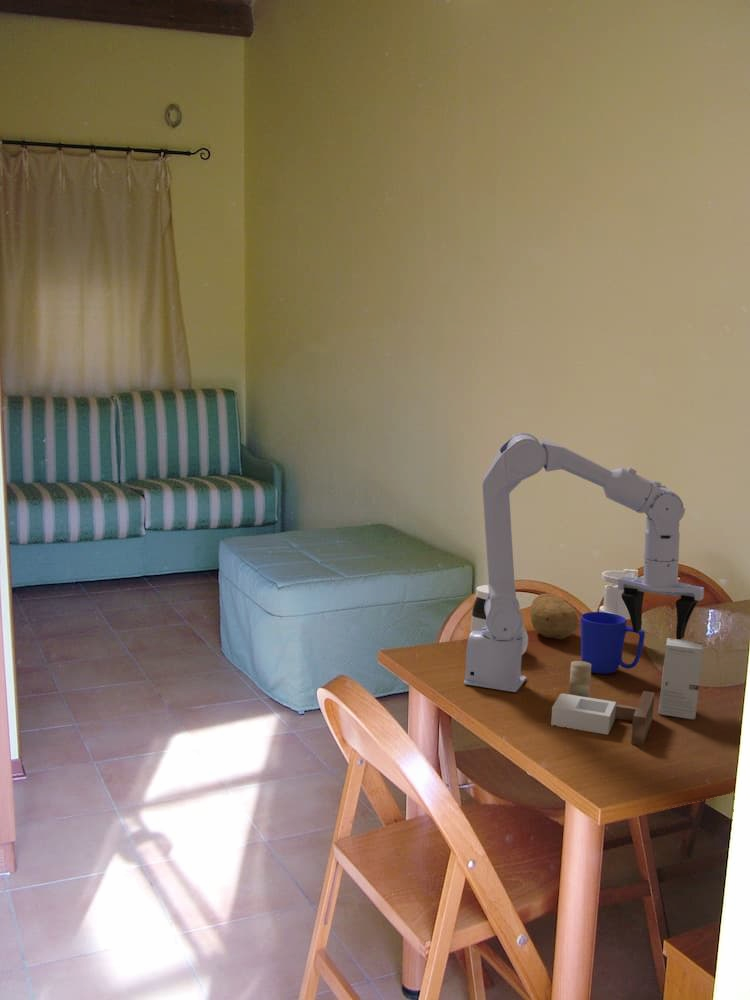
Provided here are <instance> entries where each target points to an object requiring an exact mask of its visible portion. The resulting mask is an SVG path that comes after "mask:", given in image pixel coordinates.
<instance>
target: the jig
mask: <svg viewBox="0 0 750 1000" xmlns="http://www.w3.org/2000/svg"><path fill="white" fill-rule="evenodd" d="M655 694H656V693H655V692H652V691H646V690H643V691H642V693H641V696H640V698H639V700H638V703H637V706H630V705H624V704H618V703H616V712H615V719H621V720H625V721H626V720H627V721H632V727H631V728H632V729H631V742H630V744H632V745H635V746H636V745H637V746H643V747H644V744H645V741H646V738H647V736H648V733H649V730H650V727H651V724H652V722H653V715H654V704H655Z"/></svg>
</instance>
